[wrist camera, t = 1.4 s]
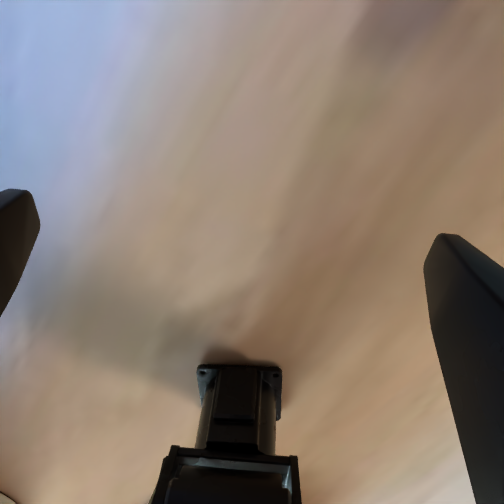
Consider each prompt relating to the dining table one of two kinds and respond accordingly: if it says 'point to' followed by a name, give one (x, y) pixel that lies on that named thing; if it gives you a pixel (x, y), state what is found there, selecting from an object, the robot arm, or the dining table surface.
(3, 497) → the jar
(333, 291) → the dining table surface
